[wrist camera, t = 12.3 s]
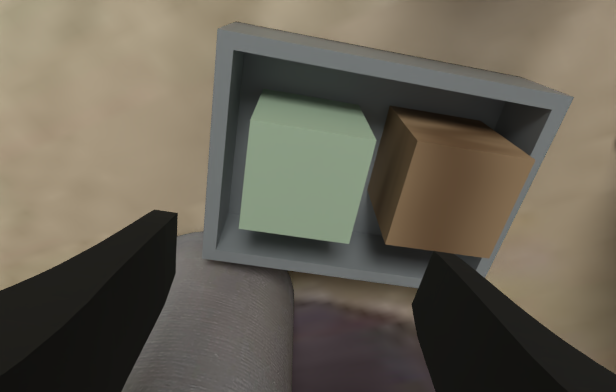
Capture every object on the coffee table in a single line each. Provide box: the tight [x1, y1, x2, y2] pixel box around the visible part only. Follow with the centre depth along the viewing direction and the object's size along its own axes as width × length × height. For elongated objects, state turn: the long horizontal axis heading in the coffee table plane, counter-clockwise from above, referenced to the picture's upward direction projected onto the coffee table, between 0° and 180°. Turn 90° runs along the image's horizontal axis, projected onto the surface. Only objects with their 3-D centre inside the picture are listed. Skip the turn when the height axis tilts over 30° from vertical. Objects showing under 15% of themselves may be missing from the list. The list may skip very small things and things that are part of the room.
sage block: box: [239, 89, 377, 244], centre depth 17 cm, size 4×4×5 cm
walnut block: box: [367, 106, 535, 259], centre depth 17 cm, size 4×4×5 cm
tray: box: [202, 22, 574, 288], centre depth 18 cm, size 14×10×4 cm
